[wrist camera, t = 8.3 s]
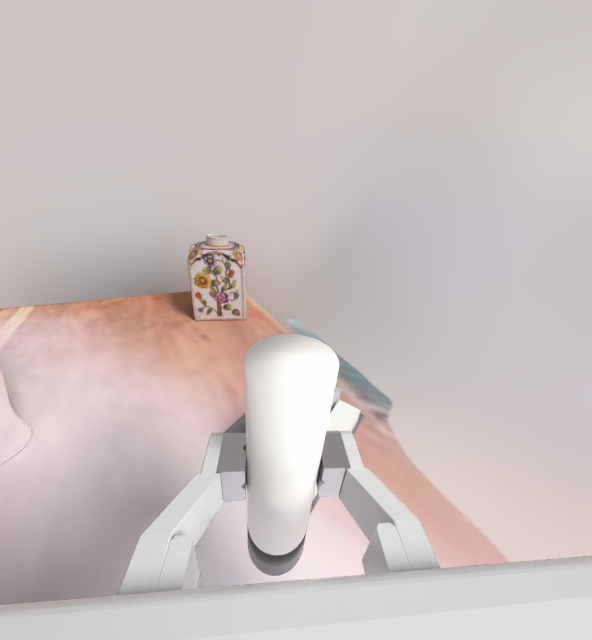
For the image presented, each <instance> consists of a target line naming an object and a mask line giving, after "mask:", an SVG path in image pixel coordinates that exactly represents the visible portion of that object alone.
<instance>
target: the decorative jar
mask: <svg viewBox="0 0 592 640" xmlns="http://www.w3.org/2000/svg"><path fill="white" fill-rule="evenodd" d="M228 239H229V237H228V236H226V235H221V234H208V235H207V236H206V241H204V242H199V243H194V244H192V245H191V247H190V250H189V252H190V253H189V257H188V269H189V278H190V287H191V296H192V305H193V312H194V318H195V320H196V321H209V320H246V282H245V278H246V277H245V255H244V254H245V252H244V246H243V245H241V244H238V243H235V242H230V241H229V240H228Z"/></svg>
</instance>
